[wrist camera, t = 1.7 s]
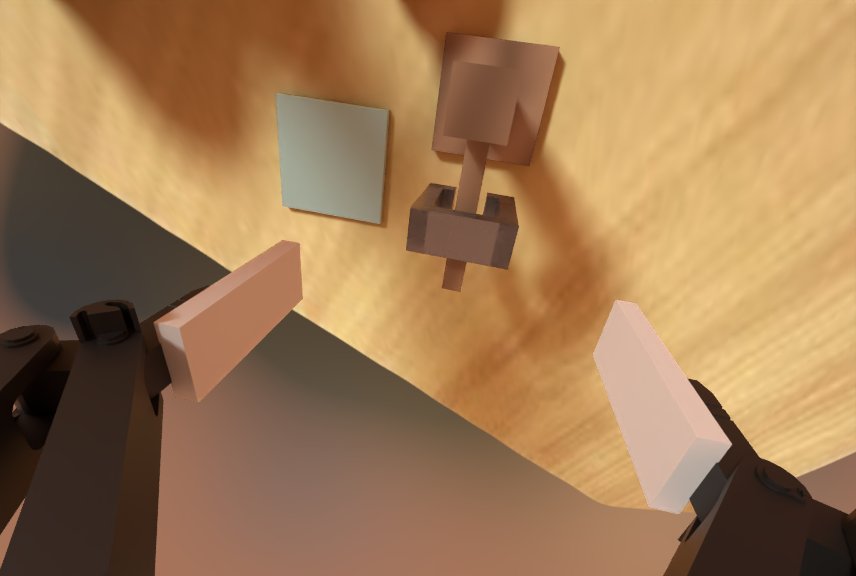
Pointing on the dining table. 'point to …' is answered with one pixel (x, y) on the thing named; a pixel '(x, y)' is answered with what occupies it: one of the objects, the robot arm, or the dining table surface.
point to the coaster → (332, 156)
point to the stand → (488, 111)
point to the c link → (463, 228)
